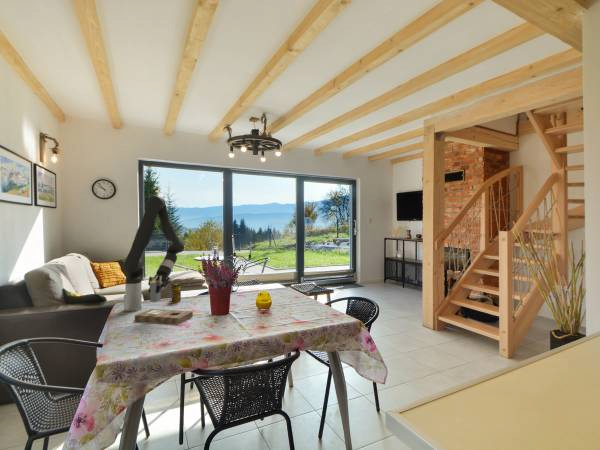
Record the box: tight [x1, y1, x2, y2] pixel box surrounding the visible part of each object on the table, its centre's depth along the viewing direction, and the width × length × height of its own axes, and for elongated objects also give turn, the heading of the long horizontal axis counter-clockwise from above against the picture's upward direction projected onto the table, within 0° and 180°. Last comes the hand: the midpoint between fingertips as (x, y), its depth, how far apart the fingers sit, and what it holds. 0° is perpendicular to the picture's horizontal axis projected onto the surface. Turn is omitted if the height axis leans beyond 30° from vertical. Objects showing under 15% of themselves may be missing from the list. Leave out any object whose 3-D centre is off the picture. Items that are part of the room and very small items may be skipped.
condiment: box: [167, 283, 183, 304], centre depth 225 cm, size 7×8×12 cm
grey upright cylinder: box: [149, 280, 162, 303], centre depth 186 cm, size 4×4×12 cm
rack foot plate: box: [134, 308, 194, 325], centre depth 185 cm, size 28×14×3 cm, turn 79°
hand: (153, 292), depth 184 cm, fingers closed on grey upright cylinder, 4 cm apart
